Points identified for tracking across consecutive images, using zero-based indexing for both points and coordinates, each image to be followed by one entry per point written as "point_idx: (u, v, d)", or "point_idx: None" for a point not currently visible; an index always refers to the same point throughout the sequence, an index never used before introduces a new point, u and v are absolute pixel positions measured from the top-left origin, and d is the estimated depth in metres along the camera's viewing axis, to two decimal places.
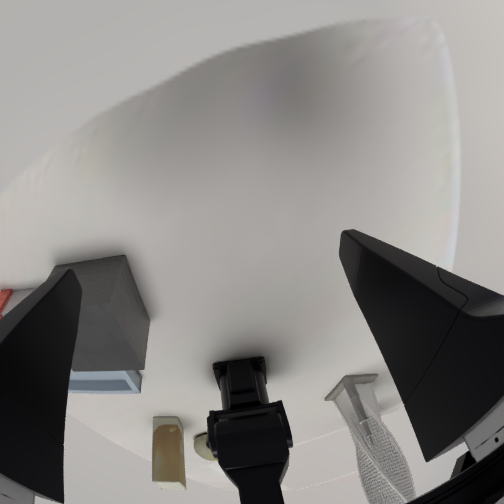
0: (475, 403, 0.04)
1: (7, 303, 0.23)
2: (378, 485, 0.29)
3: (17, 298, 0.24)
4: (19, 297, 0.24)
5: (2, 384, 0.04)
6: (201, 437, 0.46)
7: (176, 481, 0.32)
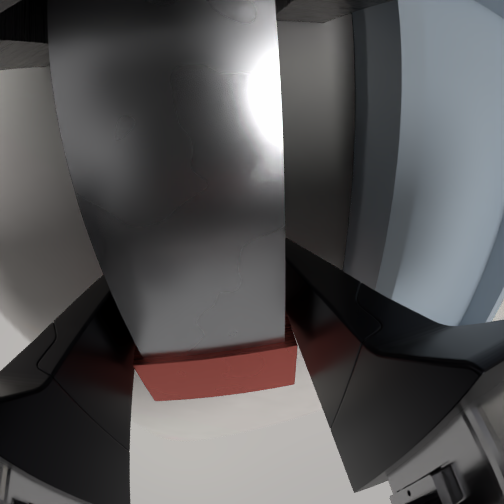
0: (385, 447, 0.04)
1: None
2: None
3: None
4: None
5: (74, 392, 0.04)
6: None
7: None
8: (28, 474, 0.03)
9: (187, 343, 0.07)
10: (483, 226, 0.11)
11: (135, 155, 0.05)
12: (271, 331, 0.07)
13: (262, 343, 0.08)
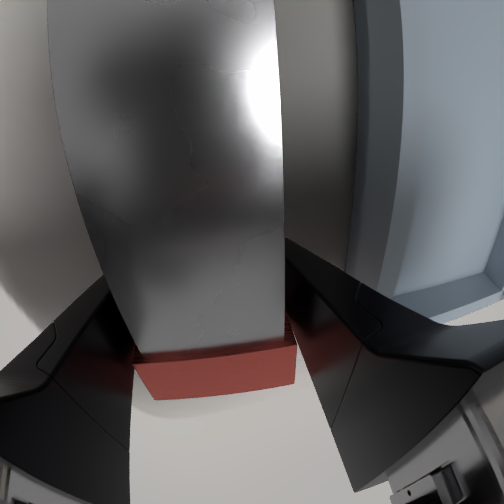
0: (386, 447, 0.04)
1: None
2: None
3: None
4: None
5: (73, 391, 0.04)
6: None
7: None
8: (28, 474, 0.03)
9: (187, 342, 0.07)
10: (501, 143, 0.08)
11: (134, 154, 0.05)
12: (271, 330, 0.07)
13: (261, 342, 0.08)
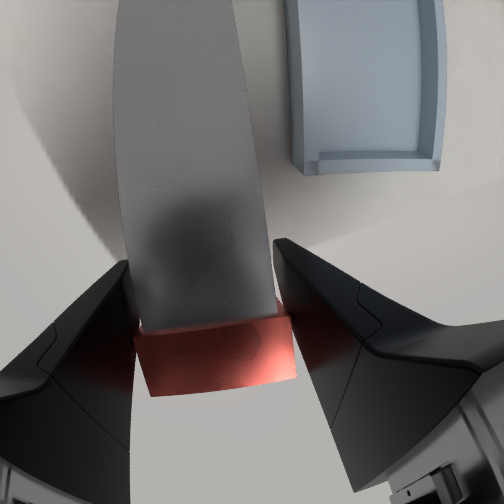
0: (385, 447, 0.04)
1: None
2: None
3: None
4: None
5: (75, 392, 0.05)
6: None
7: None
8: (28, 474, 0.03)
9: (186, 311, 0.08)
10: (401, 46, 0.13)
11: (159, 140, 0.07)
12: (263, 299, 0.08)
13: (257, 317, 0.08)
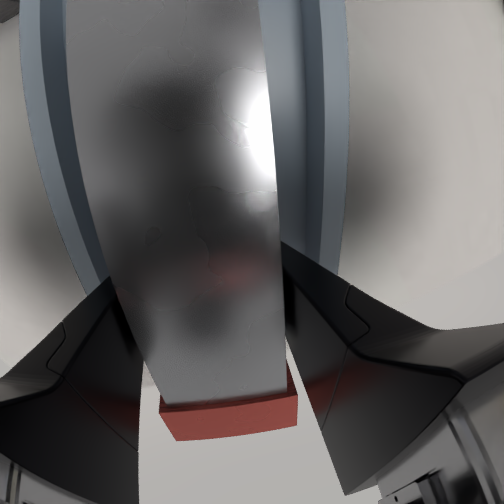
0: (373, 452, 0.04)
1: None
2: None
3: None
4: None
5: (84, 392, 0.05)
6: None
7: None
8: (39, 477, 0.03)
9: (205, 395, 0.08)
10: None
11: (162, 258, 0.06)
12: (275, 384, 0.08)
13: (268, 393, 0.09)
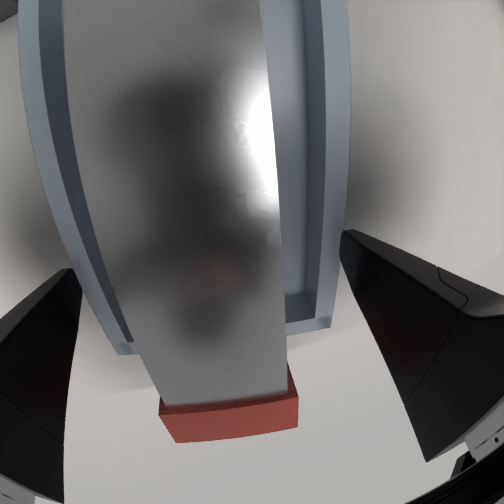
0: (475, 403, 0.04)
1: None
2: None
3: None
4: None
5: (2, 384, 0.04)
6: None
7: None
8: None
9: (205, 397, 0.08)
10: None
11: (162, 259, 0.06)
12: (276, 386, 0.08)
13: (268, 395, 0.09)
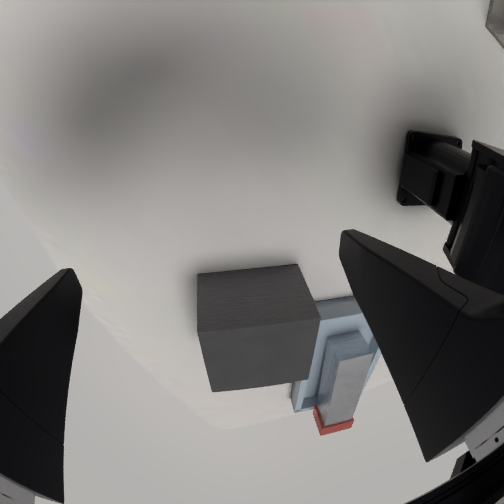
0: (475, 403, 0.04)
1: (321, 415, 0.34)
2: None
3: (320, 406, 0.34)
4: (320, 404, 0.34)
5: (2, 384, 0.04)
6: None
7: None
8: None
9: (334, 422, 0.32)
10: None
11: (340, 403, 0.30)
12: (349, 418, 0.32)
13: (347, 420, 0.33)
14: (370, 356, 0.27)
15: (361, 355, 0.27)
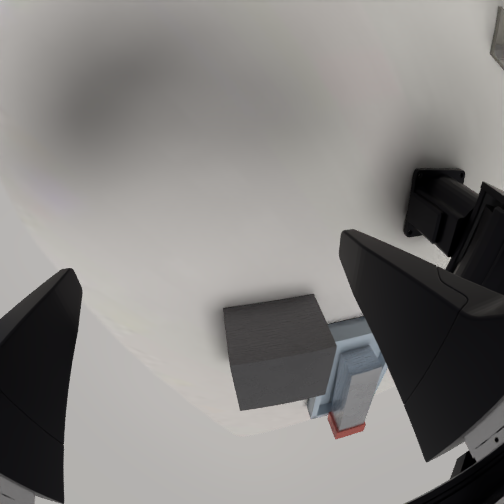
0: (475, 403, 0.04)
1: (335, 421, 0.36)
2: None
3: (335, 413, 0.36)
4: (335, 411, 0.36)
5: (2, 384, 0.04)
6: None
7: None
8: None
9: (348, 427, 0.34)
10: None
11: (352, 410, 0.32)
12: (361, 422, 0.34)
13: (359, 424, 0.35)
14: (379, 369, 0.29)
15: (371, 369, 0.29)
